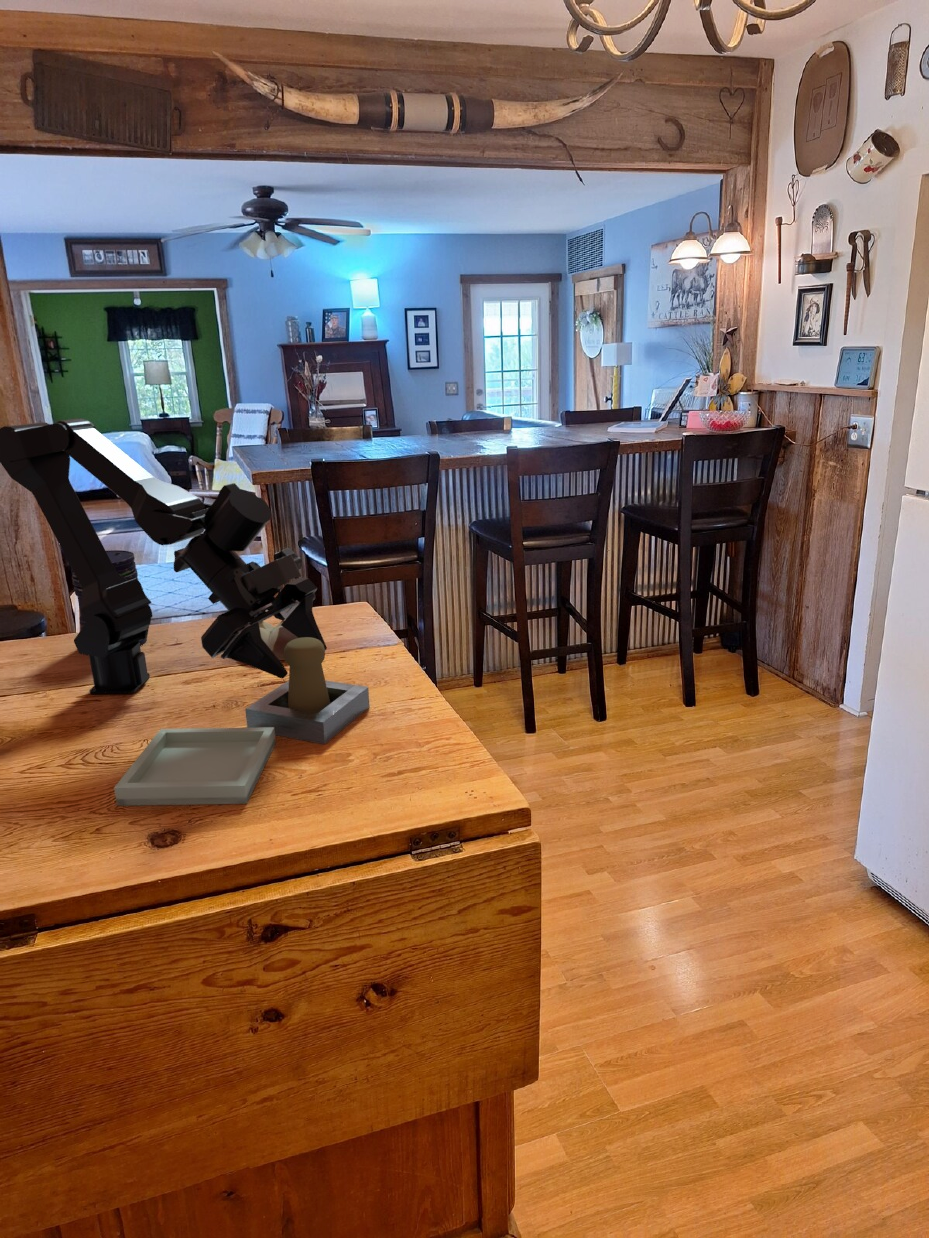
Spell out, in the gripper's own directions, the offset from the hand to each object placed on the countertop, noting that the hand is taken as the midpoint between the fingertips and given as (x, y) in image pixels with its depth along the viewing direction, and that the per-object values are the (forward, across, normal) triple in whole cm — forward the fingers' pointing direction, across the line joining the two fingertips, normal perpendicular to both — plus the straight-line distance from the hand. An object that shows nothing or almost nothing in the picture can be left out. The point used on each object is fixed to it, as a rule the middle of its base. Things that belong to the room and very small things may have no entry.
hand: (305, 663), depth 105 cm
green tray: (+3, -17, +8) cm, 19 cm away
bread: (-8, +20, +19) cm, 29 cm away
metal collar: (+6, 0, +6) cm, 8 cm away
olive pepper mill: (+6, 0, +6) cm, 8 cm away
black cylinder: (-28, +14, +38) cm, 49 cm away
